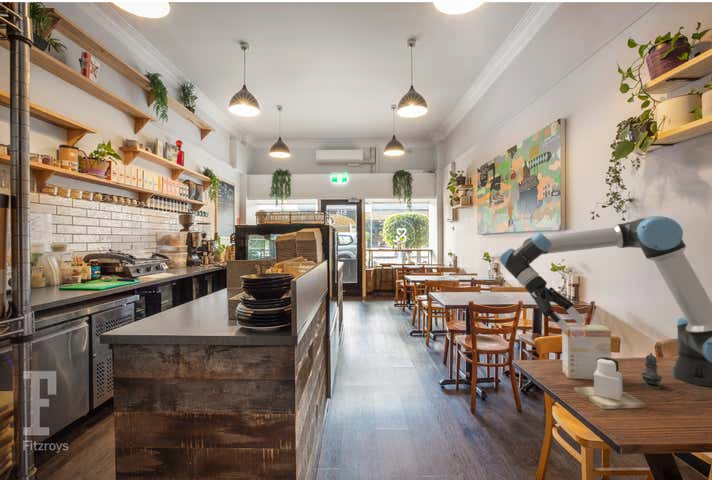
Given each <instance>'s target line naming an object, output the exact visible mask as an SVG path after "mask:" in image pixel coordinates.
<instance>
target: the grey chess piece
mask: <svg viewBox="0 0 712 480" xmlns="http://www.w3.org/2000/svg"><path fill="white" fill-rule="evenodd" d="M645 361H646V362H645V364H644V365H645V372H642V373H641V376H642V379H643V381H644V382H642V385H643V386H644V387H647V388H649V389H654V390H655V389H657V390H660V389H662V386H661V385H659V384H660V383H661V381H662V379H663V377H662V376H661V375H659V374H658V370H657V369H658V367H659V366H658V365H657V357H656V356H655V355H654V354H653V353H652V352H650V353H649V354H648V355H646V356H645Z"/></svg>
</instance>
